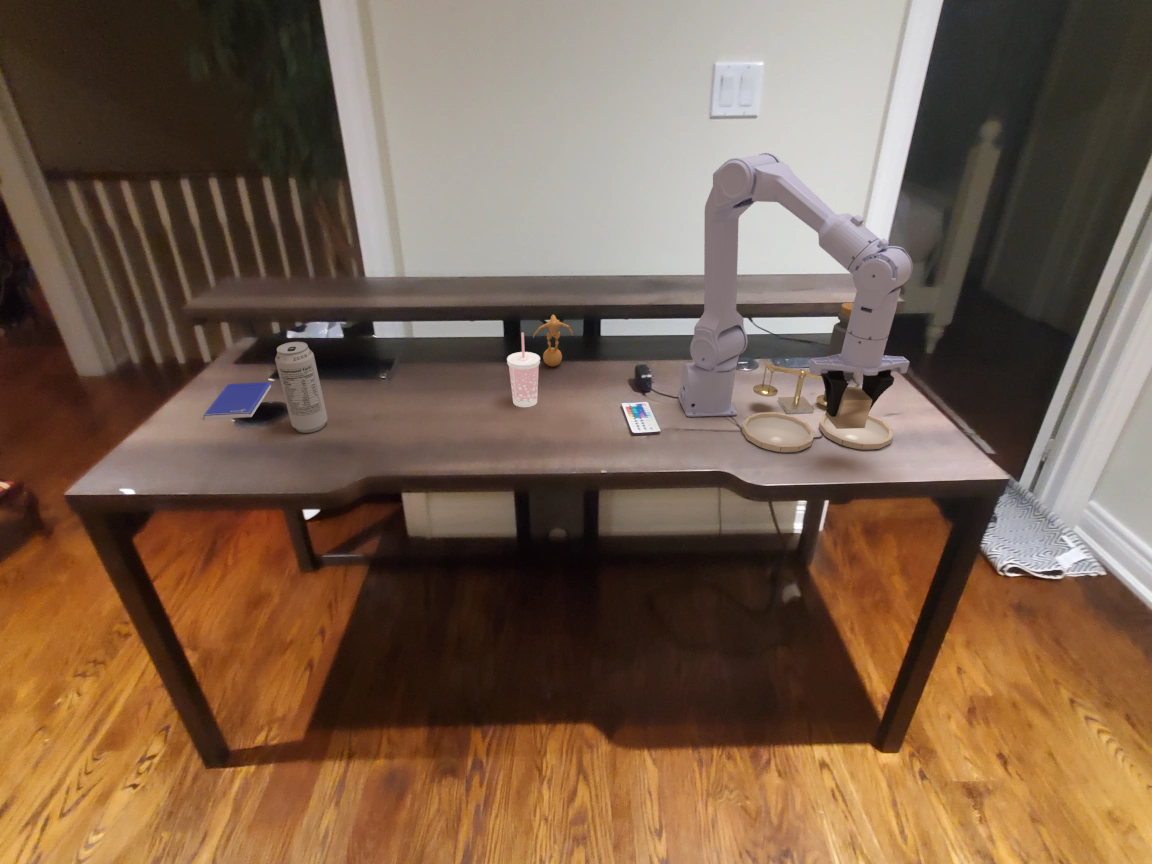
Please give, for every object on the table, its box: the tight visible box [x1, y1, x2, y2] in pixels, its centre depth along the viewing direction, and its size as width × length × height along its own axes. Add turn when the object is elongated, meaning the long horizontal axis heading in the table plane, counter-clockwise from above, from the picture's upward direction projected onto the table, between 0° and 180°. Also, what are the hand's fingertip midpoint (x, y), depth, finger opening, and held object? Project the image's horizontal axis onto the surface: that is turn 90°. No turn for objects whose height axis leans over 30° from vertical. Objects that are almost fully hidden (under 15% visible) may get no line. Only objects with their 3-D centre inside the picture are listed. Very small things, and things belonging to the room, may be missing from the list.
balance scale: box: [752, 361, 827, 415], centre depth 119 cm, size 17×5×9 cm, turn 94°
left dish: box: [741, 411, 815, 453], centre depth 111 cm, size 12×12×1 cm
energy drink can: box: [274, 341, 328, 434], centre depth 109 cm, size 6×6×15 cm
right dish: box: [818, 413, 894, 451], centre depth 112 cm, size 12×12×1 cm
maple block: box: [824, 386, 872, 429], centre depth 100 cm, size 4×4×5 cm
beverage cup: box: [506, 332, 541, 408], centre depth 118 cm, size 6×6×14 cm
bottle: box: [826, 302, 855, 382], centre depth 129 cm, size 6×6×15 cm
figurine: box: [532, 314, 574, 367], centre depth 132 cm, size 8×6×12 cm
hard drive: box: [203, 381, 272, 420], centre depth 121 cm, size 2×8×12 cm
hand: (846, 413), depth 101 cm, fingers closed on maple block, 4 cm apart
